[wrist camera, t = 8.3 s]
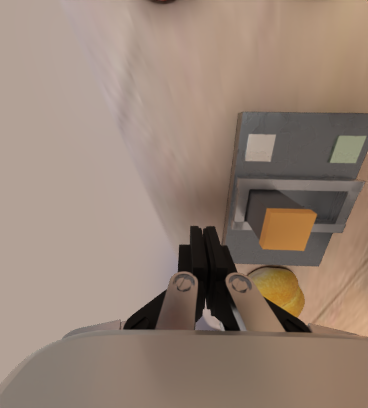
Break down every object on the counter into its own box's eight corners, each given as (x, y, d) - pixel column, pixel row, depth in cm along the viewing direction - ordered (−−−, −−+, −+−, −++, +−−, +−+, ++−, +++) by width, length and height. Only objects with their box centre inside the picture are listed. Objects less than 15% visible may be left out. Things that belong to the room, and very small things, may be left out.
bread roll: (284, 255, 23) (302, 279, 19) (302, 297, 26) (320, 324, 22) (228, 276, 25) (234, 301, 21) (250, 313, 28) (259, 340, 24)
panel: (366, 115, 16) (398, 112, 14) (310, 258, 23) (325, 273, 20) (238, 113, 16) (247, 110, 14) (220, 255, 23) (224, 270, 21)
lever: (278, 188, 17) (317, 214, 12) (271, 216, 19) (304, 250, 13) (246, 187, 17) (271, 212, 12) (242, 215, 19) (262, 249, 13)
